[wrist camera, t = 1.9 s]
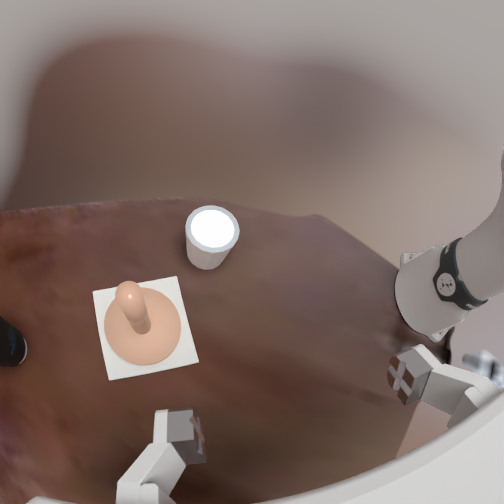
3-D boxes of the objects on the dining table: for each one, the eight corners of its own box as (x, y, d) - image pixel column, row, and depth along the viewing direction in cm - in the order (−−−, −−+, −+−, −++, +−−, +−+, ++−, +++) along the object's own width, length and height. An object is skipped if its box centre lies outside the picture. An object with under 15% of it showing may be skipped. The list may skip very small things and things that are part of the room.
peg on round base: (171, 284, 39) (173, 233, 27) (189, 356, 36) (199, 339, 23) (100, 297, 35) (70, 251, 23) (114, 371, 32) (84, 361, 20)
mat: (176, 277, 40) (176, 276, 40) (198, 362, 36) (199, 362, 36) (93, 292, 36) (92, 291, 35) (109, 380, 32) (109, 380, 31)
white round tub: (172, 249, 42) (174, 224, 36) (206, 223, 45) (213, 196, 39) (205, 283, 41) (212, 263, 35) (238, 254, 44) (250, 230, 38)
